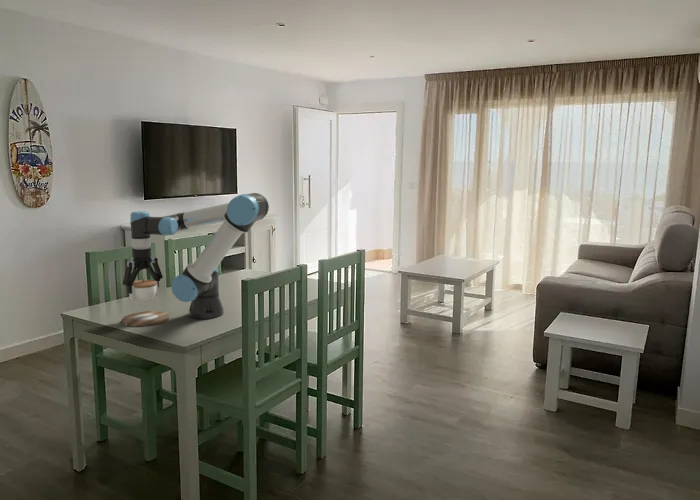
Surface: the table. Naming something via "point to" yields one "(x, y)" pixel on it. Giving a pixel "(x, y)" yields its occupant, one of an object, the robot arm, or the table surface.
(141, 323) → the plate
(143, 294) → the lidded jar
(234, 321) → the table surface
